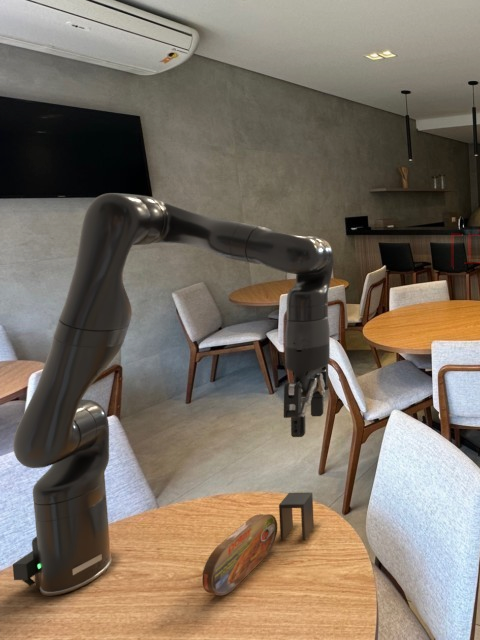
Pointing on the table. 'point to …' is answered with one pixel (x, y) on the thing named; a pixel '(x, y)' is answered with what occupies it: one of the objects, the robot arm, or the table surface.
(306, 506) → the dark grey stool
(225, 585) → the tin
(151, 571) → the table surface
